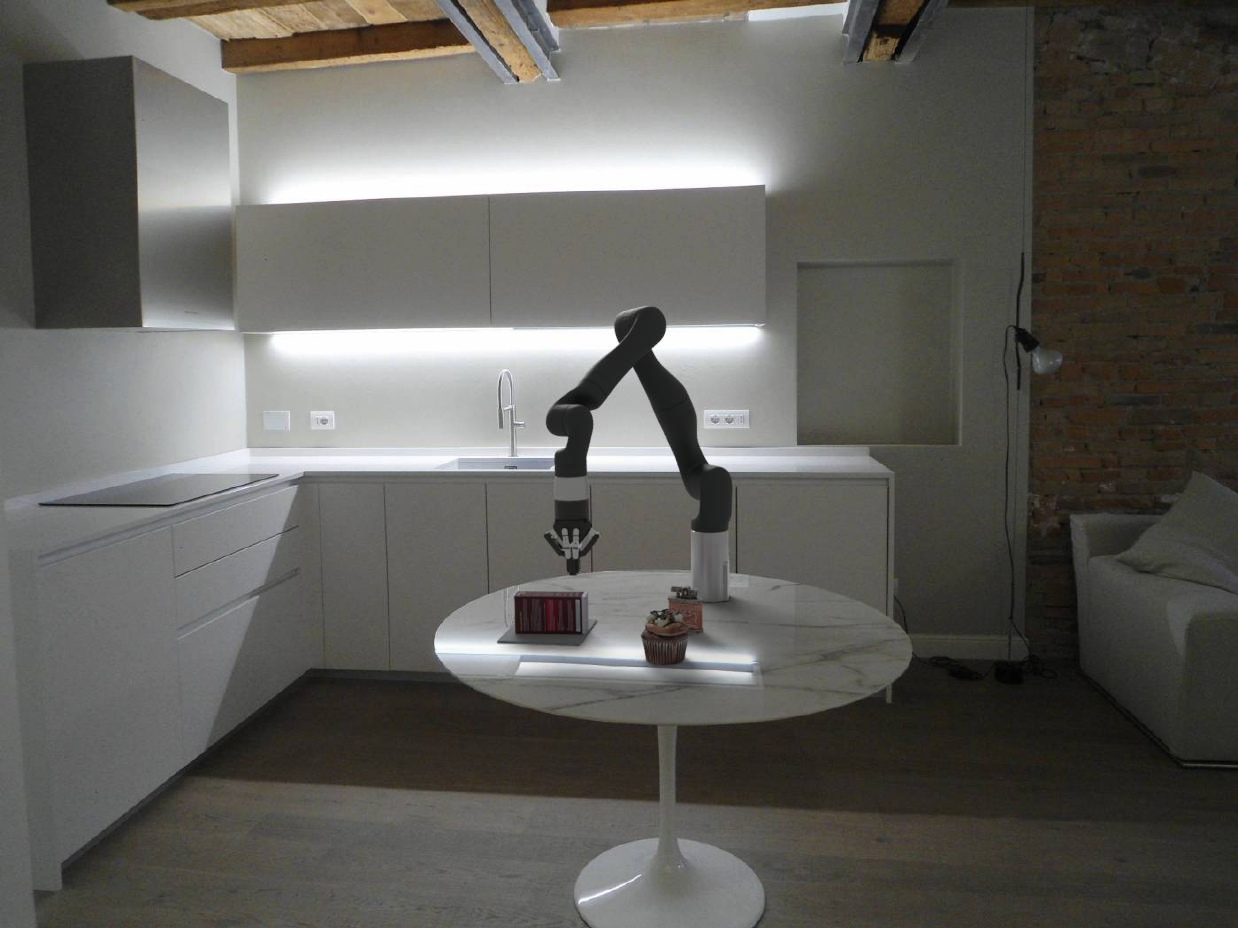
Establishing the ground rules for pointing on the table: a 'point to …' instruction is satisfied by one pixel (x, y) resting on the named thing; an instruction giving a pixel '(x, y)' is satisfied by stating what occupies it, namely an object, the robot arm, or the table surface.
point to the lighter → (687, 607)
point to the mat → (544, 637)
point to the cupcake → (665, 638)
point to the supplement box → (551, 612)
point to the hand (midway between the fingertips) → (573, 574)
